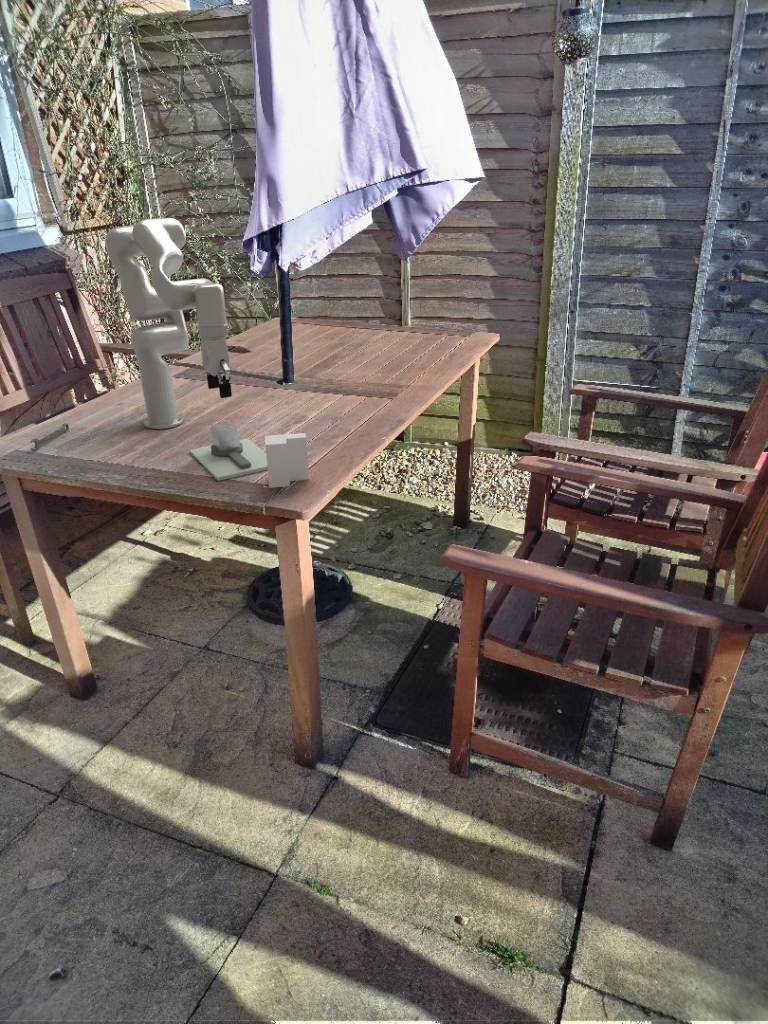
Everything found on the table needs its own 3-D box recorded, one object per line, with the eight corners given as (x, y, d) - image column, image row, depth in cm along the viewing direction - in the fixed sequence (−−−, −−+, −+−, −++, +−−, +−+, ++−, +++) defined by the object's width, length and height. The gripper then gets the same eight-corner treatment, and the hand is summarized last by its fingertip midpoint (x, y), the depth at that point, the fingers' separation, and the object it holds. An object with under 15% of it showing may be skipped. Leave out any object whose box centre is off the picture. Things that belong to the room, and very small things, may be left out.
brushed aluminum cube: (213, 444, 206) (210, 425, 203) (232, 441, 208) (230, 421, 206) (220, 451, 201) (217, 431, 198) (240, 447, 204) (237, 427, 201)
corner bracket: (269, 487, 184) (265, 444, 179) (267, 471, 194) (264, 429, 189) (310, 484, 186) (307, 441, 181) (306, 468, 196) (303, 427, 191)
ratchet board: (190, 453, 207) (187, 433, 204) (247, 441, 215) (245, 422, 213) (217, 481, 189) (215, 459, 186) (279, 467, 197) (278, 446, 194)
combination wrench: (64, 420, 225) (26, 441, 207) (68, 420, 225) (30, 441, 207) (67, 431, 227) (29, 453, 209) (70, 432, 227) (33, 453, 209)
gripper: (189, 326, 195) (197, 386, 203) (210, 339, 182) (217, 403, 189) (215, 323, 198) (222, 382, 206) (238, 335, 185) (244, 398, 193)
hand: (219, 392), depth 198 cm, fingers open, 9 cm apart
